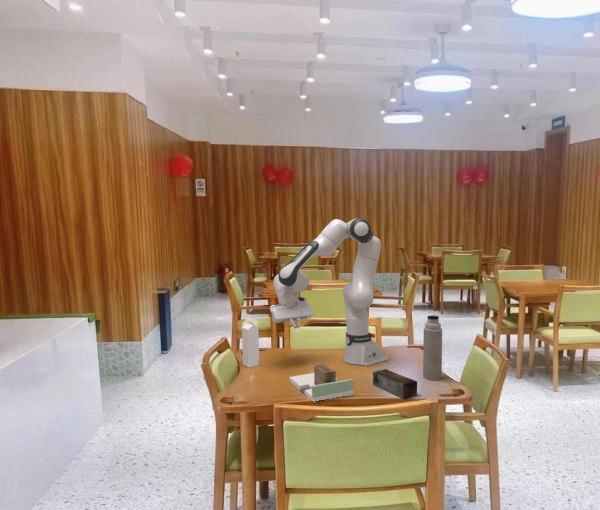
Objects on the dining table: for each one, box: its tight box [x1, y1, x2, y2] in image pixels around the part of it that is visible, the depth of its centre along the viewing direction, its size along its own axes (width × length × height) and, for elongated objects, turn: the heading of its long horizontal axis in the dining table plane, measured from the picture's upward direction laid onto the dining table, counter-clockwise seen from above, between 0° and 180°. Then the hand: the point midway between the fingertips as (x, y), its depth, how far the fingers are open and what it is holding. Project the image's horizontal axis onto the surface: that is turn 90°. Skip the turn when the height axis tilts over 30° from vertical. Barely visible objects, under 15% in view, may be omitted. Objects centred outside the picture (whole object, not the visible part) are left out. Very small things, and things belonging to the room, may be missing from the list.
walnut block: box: [313, 363, 337, 385], centre depth 184 cm, size 5×10×8 cm, turn 23°
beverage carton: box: [372, 368, 418, 400], centre depth 185 cm, size 8×19×7 cm, turn 32°
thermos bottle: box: [422, 315, 443, 382], centre depth 198 cm, size 8×8×28 cm
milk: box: [241, 320, 260, 368], centre depth 219 cm, size 6×6×22 cm
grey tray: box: [289, 372, 354, 403], centre depth 188 cm, size 18×25×6 cm
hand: (296, 327), depth 211 cm, fingers closed
